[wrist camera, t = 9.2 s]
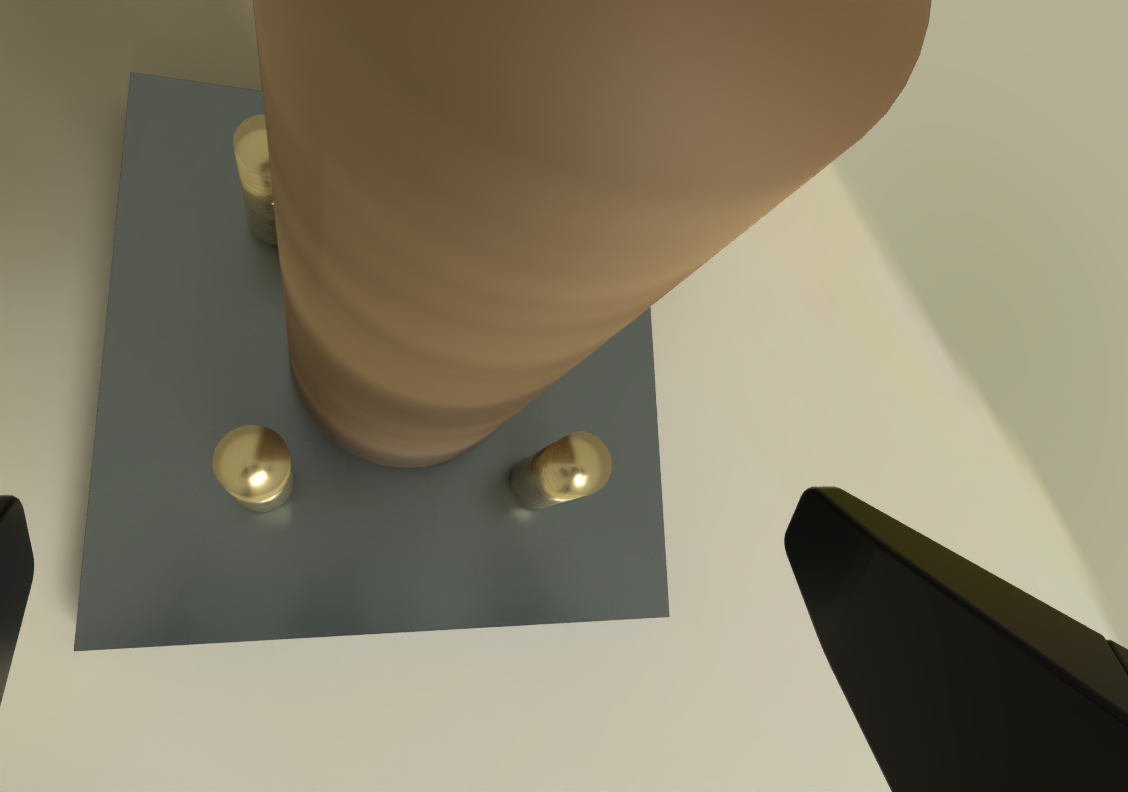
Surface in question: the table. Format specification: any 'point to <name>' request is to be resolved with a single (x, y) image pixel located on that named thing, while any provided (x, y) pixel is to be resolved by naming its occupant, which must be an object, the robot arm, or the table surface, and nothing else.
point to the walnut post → (531, 181)
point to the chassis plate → (323, 442)
